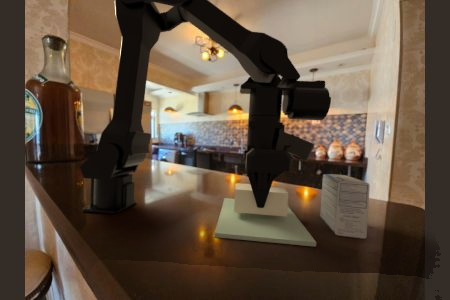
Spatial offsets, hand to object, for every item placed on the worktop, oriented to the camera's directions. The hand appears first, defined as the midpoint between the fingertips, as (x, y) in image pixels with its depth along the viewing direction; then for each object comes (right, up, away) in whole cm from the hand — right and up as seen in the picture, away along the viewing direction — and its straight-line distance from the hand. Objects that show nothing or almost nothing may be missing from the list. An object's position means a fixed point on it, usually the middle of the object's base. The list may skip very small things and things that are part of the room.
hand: (258, 202), depth 34 cm
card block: (0, -1, 0) cm, 1 cm away
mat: (0, -3, 0) cm, 3 cm away
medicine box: (+14, -4, -2) cm, 14 cm away
